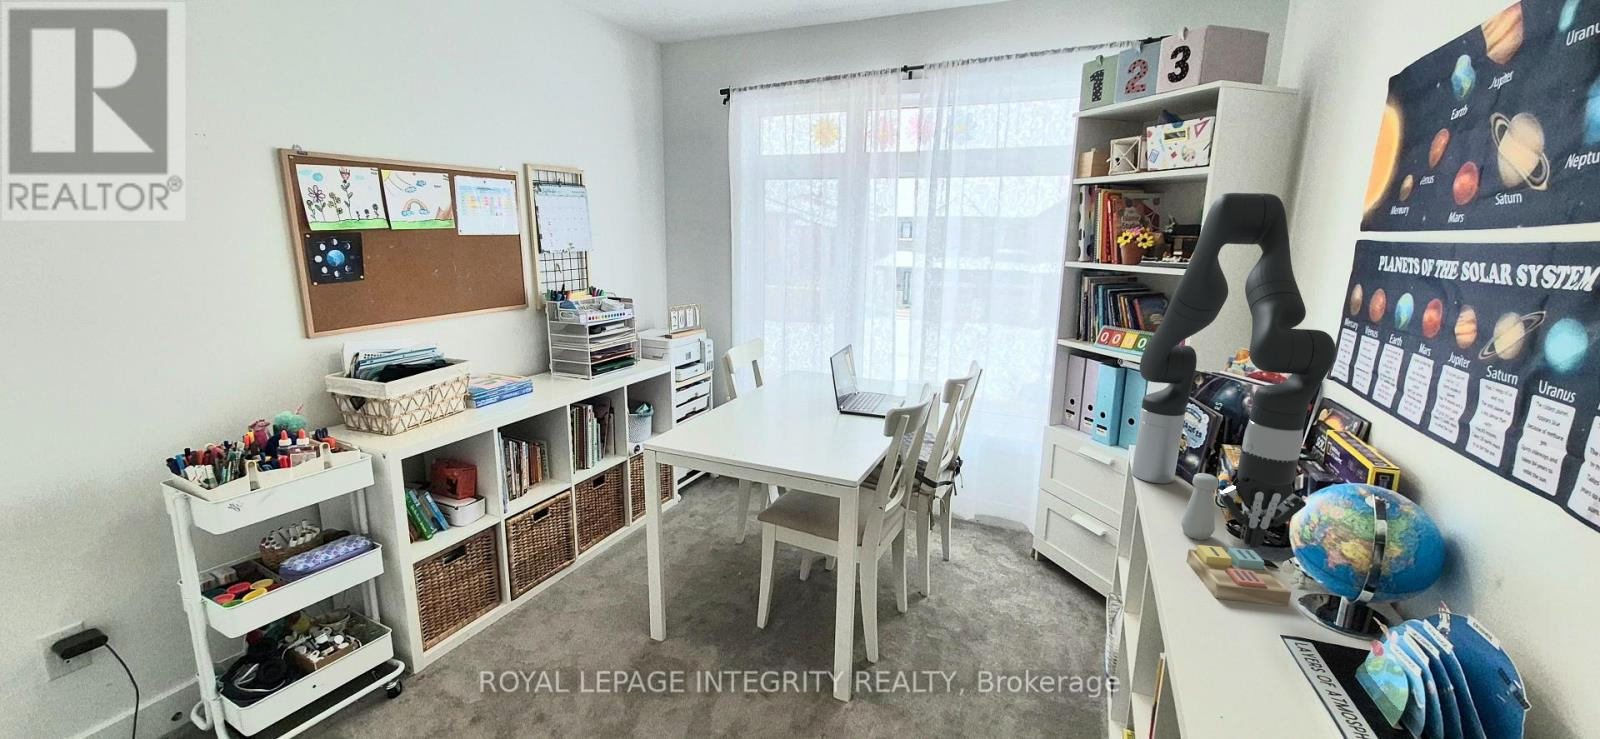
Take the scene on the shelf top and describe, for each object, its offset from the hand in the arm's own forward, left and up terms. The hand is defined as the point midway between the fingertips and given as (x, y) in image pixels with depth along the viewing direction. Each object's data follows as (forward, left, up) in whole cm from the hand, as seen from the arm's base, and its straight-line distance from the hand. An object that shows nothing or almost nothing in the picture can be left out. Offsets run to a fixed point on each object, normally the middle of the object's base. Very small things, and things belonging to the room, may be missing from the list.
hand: (1250, 545), depth 106 cm
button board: (-2, 0, -9) cm, 9 cm away
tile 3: (+1, 0, -8) cm, 8 cm away
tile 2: (-5, +3, -7) cm, 9 cm away
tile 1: (-5, -3, -7) cm, 9 cm away
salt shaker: (-19, +1, -9) cm, 21 cm away
